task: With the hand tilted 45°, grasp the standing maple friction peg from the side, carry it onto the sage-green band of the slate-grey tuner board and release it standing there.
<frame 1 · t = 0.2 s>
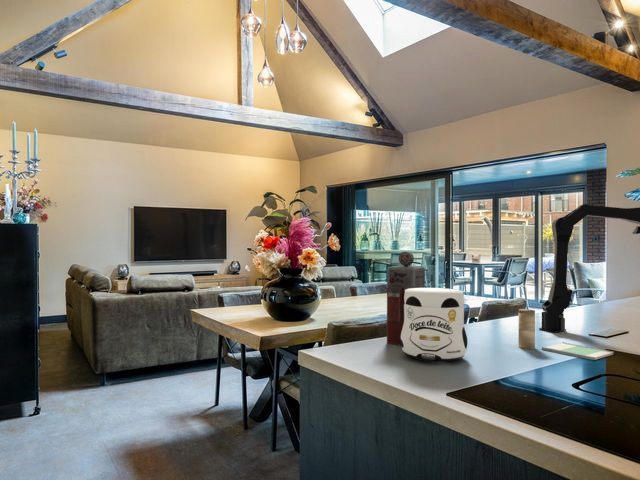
tuner board: (577, 351, 129), on the counter
milk container: (433, 358, 122), on the counter
friction peg: (526, 347, 134), on the counter
dark red bottle: (404, 343, 140), on the counter
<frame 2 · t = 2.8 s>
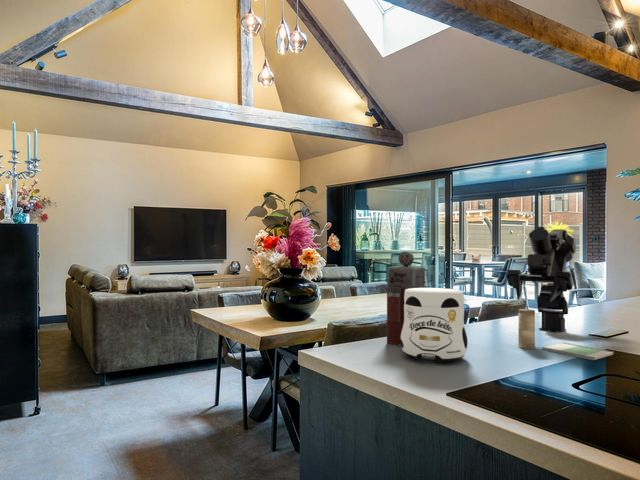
hand: (533, 299, 140), 13 cm above the counter, tool tilted 45°, fingers open, 9 cm apart
nothing on the counter moved.
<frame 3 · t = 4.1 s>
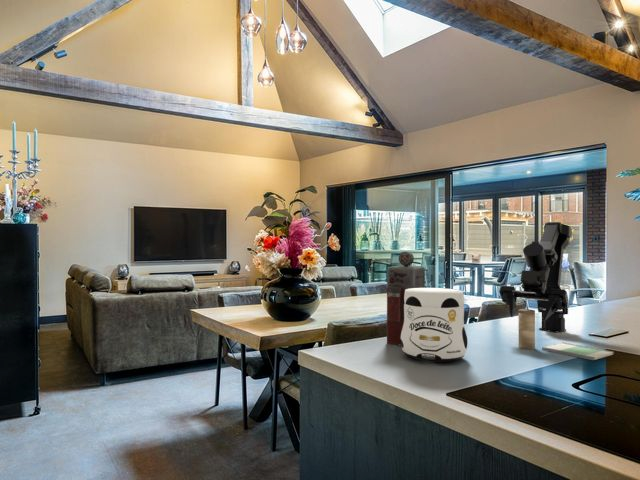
hand: (527, 317, 135), 9 cm above the counter, tool tilted 45°, fingers open, 9 cm apart
nothing on the counter moved.
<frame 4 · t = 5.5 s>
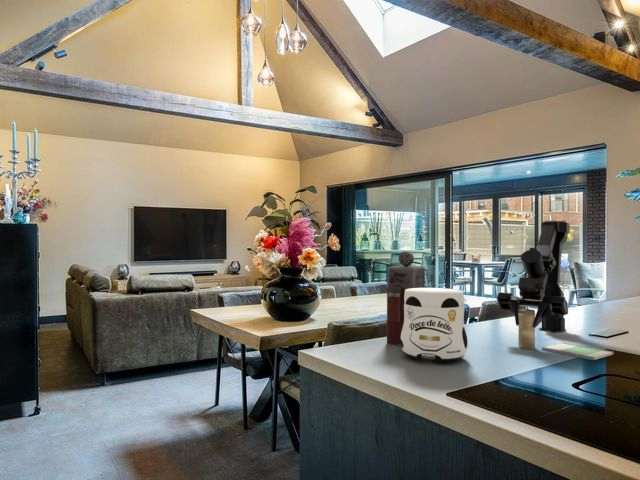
hand: (525, 325, 133), 7 cm above the counter, tool tilted 45°, fingers closed on friction peg, 4 cm apart
friction peg: (526, 347, 134), on the counter, touching gripper
everything else where it was.
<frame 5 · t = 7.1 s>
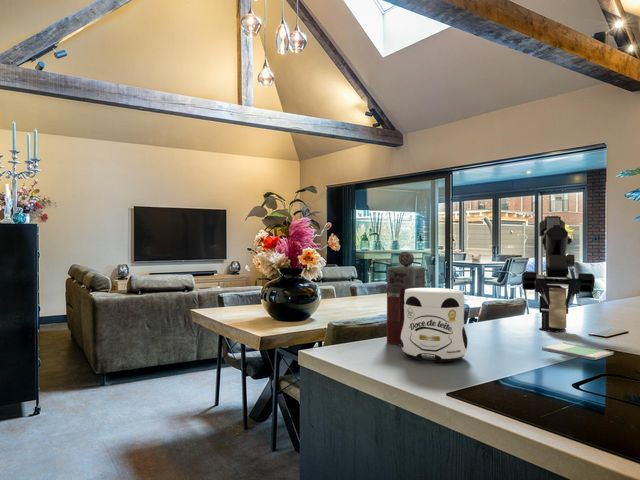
hand: (558, 304, 129), 13 cm above the counter, tool tilted 45°, fingers closed on friction peg, 4 cm apart
friction peg: (557, 326, 130), point 7 cm above the counter, touching gripper
everything else where it was.
when the fingers open (8 cm above the counter, at t = 8.7 s): friction peg drops 1 cm, resting on tuner board.
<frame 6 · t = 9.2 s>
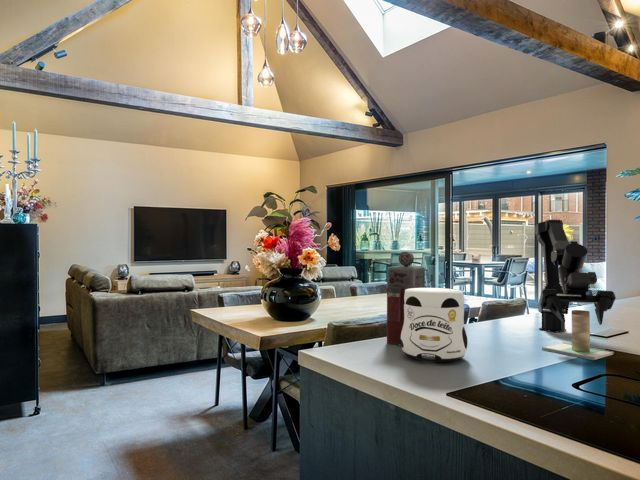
hand: (582, 323, 127), 9 cm above the counter, tool tilted 45°, fingers open, 9 cm apart
friction peg: (580, 350, 128), point 1 cm above the counter, touching tuner board
everything else where it was.
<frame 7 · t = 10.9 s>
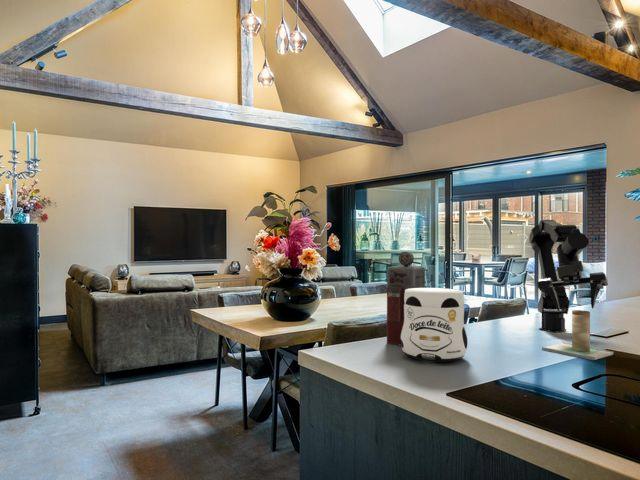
hand: (575, 309, 139), 11 cm above the counter, tool tilted 25°, fingers open, 9 cm apart
nothing on the counter moved.
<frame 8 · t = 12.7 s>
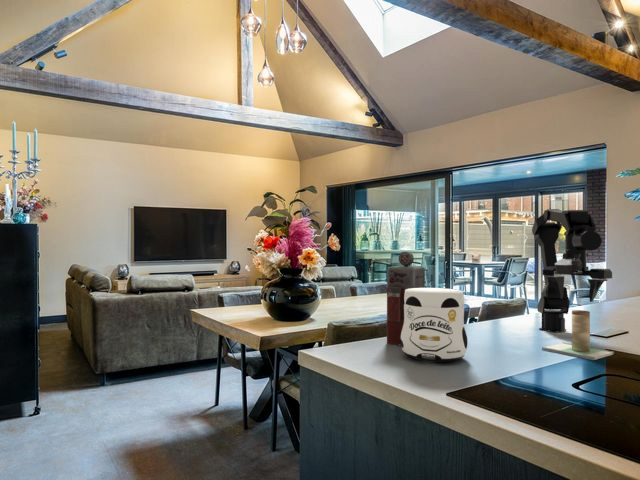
hand: (575, 300, 142), 13 cm above the counter, tool pointing down, fingers open, 9 cm apart
nothing on the counter moved.
at the end: friction peg inside the target area (0.2 cm from its centre), point 0.6 cm above the counter; friction peg tilted 0°; the gripper is holding nothing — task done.
